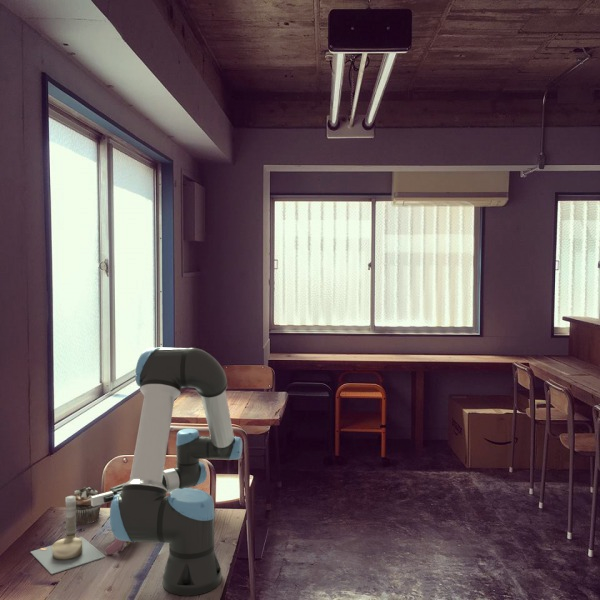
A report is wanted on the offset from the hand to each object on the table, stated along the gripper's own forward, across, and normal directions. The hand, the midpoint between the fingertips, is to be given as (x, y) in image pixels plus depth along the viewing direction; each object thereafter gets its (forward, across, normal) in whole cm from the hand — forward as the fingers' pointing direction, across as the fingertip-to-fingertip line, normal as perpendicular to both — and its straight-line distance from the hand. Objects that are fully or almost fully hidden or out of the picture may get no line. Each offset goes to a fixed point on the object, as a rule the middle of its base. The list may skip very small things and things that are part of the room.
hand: (92, 501), depth 185 cm
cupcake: (-4, +15, -12) cm, 19 cm away
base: (+10, -6, -11) cm, 16 cm away
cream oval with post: (+9, -5, -10) cm, 15 cm away
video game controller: (-4, -13, -11) cm, 17 cm away
